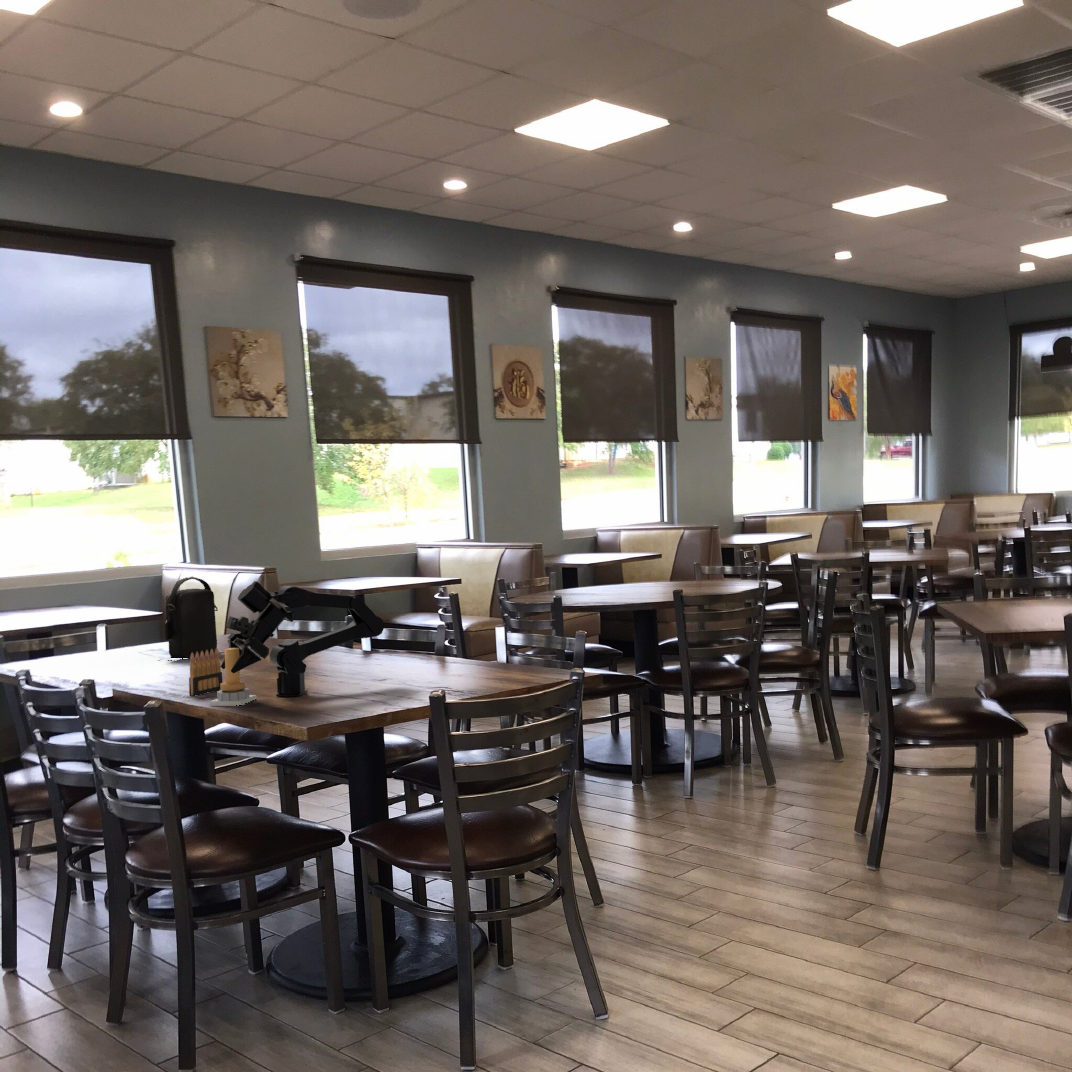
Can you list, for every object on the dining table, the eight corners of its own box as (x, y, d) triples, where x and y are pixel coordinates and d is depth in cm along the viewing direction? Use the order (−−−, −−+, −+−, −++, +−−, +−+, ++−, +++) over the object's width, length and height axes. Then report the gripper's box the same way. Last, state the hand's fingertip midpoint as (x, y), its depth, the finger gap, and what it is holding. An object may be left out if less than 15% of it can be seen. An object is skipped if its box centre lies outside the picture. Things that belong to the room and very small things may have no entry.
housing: (256, 699, 277) (255, 687, 277) (241, 705, 268) (240, 693, 268) (226, 699, 278) (226, 687, 278) (210, 705, 270) (209, 693, 270)
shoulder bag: (175, 661, 353) (171, 579, 352) (157, 660, 358) (153, 579, 357) (225, 652, 373) (221, 574, 372) (207, 651, 377) (203, 574, 376)
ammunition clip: (193, 696, 285) (191, 653, 285) (189, 696, 286) (187, 652, 285) (223, 689, 294) (221, 647, 294) (218, 689, 295) (216, 647, 295)
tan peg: (244, 694, 277) (242, 646, 277) (247, 698, 272) (245, 649, 271) (219, 697, 275) (217, 648, 275) (222, 701, 269) (220, 651, 269)
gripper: (233, 602, 282) (194, 647, 277) (254, 607, 267) (213, 654, 261) (263, 628, 287) (225, 673, 281) (286, 634, 271) (246, 681, 266)
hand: (226, 670), depth 272 cm, fingers open, 9 cm apart
